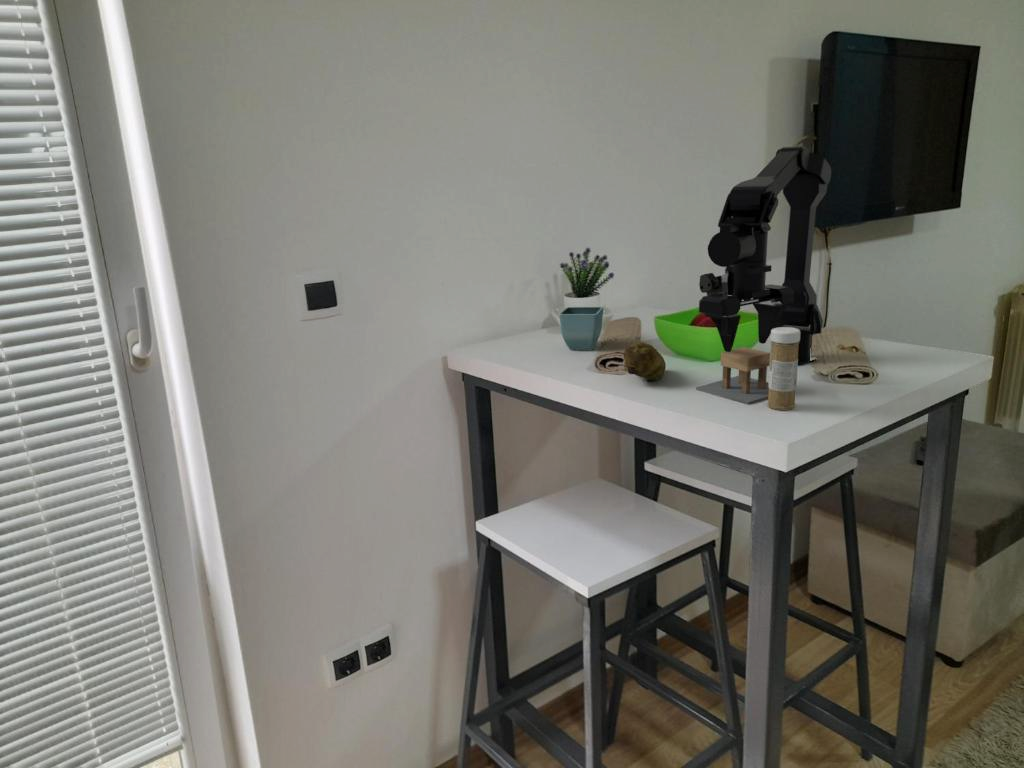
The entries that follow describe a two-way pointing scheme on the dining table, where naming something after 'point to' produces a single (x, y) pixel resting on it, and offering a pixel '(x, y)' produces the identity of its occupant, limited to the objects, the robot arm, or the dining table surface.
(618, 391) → the dining table surface
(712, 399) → the dining table surface
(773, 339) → the spice jar
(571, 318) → the flower pot
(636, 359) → the potato
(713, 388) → the mat
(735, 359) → the stool
